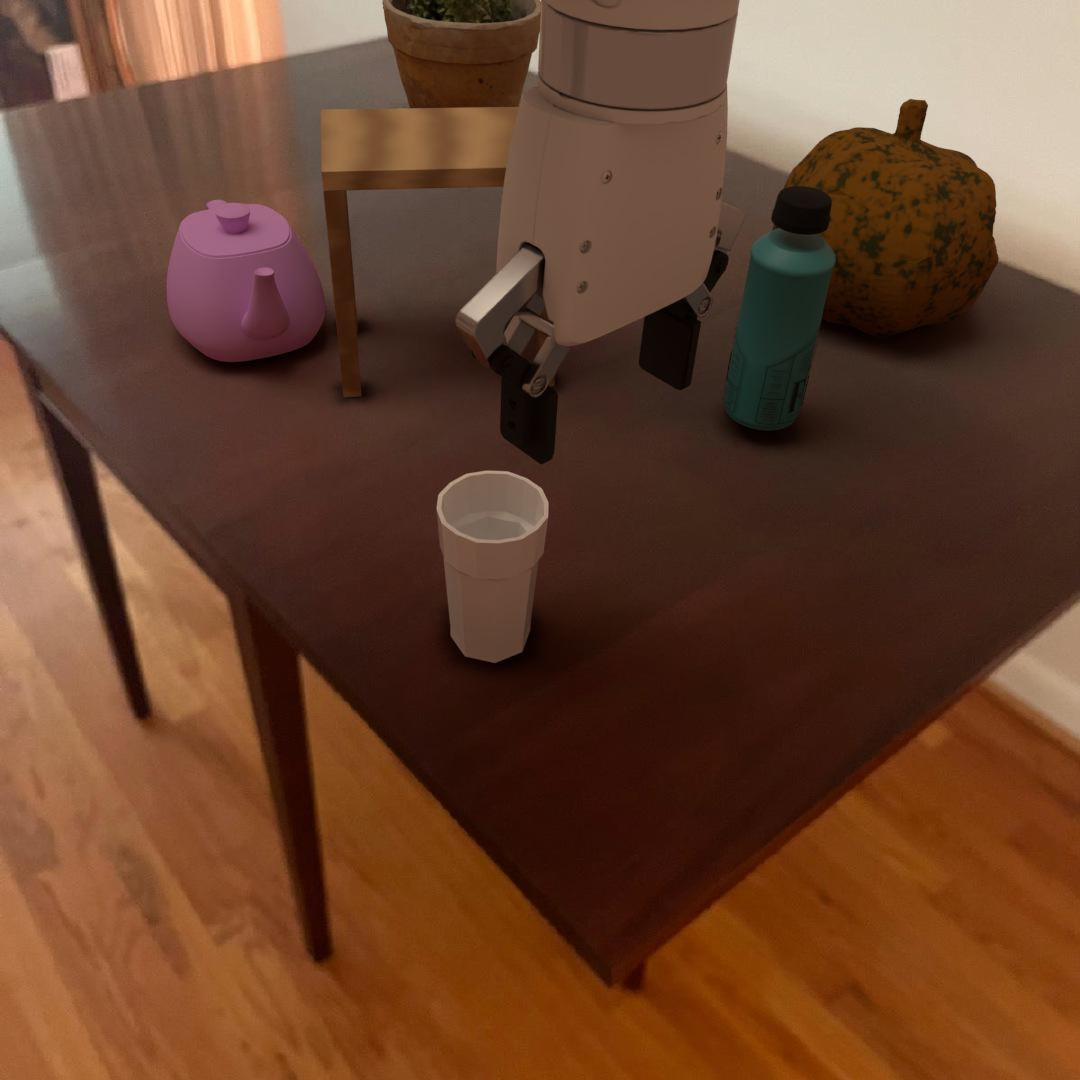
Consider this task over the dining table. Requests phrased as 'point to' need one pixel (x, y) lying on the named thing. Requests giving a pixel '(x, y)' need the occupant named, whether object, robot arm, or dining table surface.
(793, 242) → the beverage bottle
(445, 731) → the dining table surface
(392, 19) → the potted plant
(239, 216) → the teapot
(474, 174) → the desk
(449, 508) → the cup
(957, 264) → the decorative pumpkin
